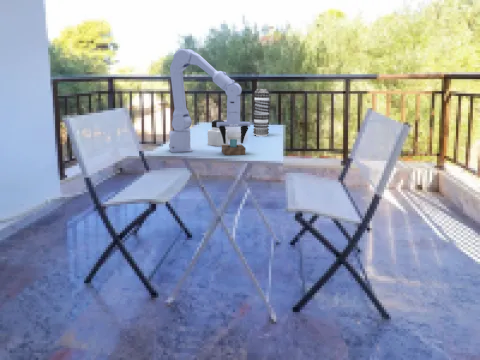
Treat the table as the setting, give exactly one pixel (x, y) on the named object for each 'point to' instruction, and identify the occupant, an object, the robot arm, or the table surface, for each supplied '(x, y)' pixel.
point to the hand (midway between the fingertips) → (233, 143)
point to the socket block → (233, 150)
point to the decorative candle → (261, 112)
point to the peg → (233, 142)
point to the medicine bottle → (216, 135)
